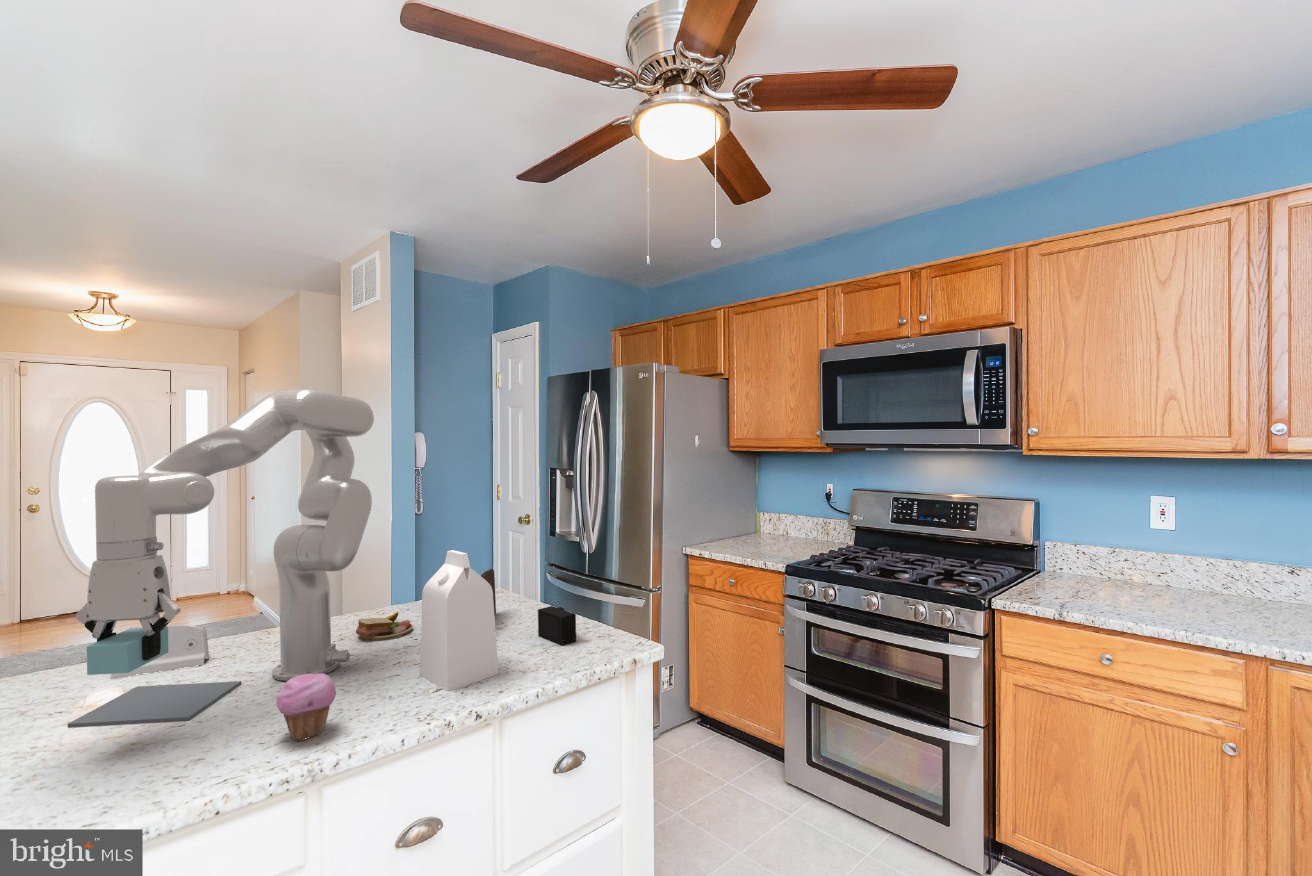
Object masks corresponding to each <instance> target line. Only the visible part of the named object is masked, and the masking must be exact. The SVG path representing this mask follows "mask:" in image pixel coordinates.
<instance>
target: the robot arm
mask: <svg viewBox="0 0 1312 876" xmlns="http://www.w3.org/2000/svg"><path fill="white" fill-rule="evenodd" d="M374 419H375V415H374V412H373V409H372V407H371V406H370V405H369V404H368V403H367V402H366V401H364V400H362V399H360V398H356V397H351V396H346V395H341V394H338V393H337V394H336V393H332V392H326V391H322V390H321V391H320V390H316V389H307V388H306V389H303V388H302V389H289V390H287V389H286V390H277V391H274V392H271V393H269V394H268V395H266V396H264V397H263V398H261V399H260V400H259V401H257V402H256V403H255V404H253V405H252V406H251V407H250V406H249V408H247V409H245V411H243V412H241V414H239V415H238V416H236V417H235V418H233V419H231V421H229V422H228V423H227V424H225V425H224V426H222V427H220V428H219V429H216V430H214V431H212V432H210V433H208V434H205V435H202V436H200V437H199V438H197V439H195V440H193V441H191V442H189V443H187V444H184V445H182V446H180V447H178V448H176V449H174V450H172V451H171V452H169V453H167V454H165V455H164V456H163V457H161V458H159V459H158V460H156V461H155V462H153V464H151V465H149V466H148V467H147V468H145V469H144V470H142V471H141V472H139V474H138V475H118V476H115V475H113V476H108V477H107V476H106V477H102V478H100V479H99V480H97V482H96V484H95V486H94V488H95V489H94V500H95V501H94V507H95V509H94V510H95V547H96V549H95V550H96V551H95V552H96V554H95V555H96V560H94V561H93V562H92V565H91V567H90V572H89V578H88V585H87V596H86V597H87V600H86V601H87V602H86V604H84V605H83V606H82V608H80V610H79V611H78V612H77V613H76V614H75V615H74V618H75V619H76V620H77V621H78V622H79V623H81V624H83V626H84V627H85V629H87V630H88V631H89V632H90V633H91V637H92V638H93V639H94V640H95V639H96V643H97V642H99V641H101V640H104V639H107V638H109V637H111V636H114V635H116V634H117V632H113V631H114V629H115V627H116V624H117V622H118V621H119V622H120V621H139V623H140V626H141V628H143V630H144V632H145V634H146V635H145V636H143V637H142V659H143V660H149V659H151V658H153V657H155V656H157V655H159V654H160V650H161V631H162V630H164V628H165V627H166V626H169V624H170V623H171V622H172V620H174V618H175V617H177V615H179V614H180V613H181V610H182V609H181V608H180V607H179V606H178V605H177V604H176V603H175V602H174V601H173V600H171V589H170V580H169V574H168V570H167V567H166V562H165V560H164V557H163V555H162V554H158V551H162V550H163V549H164V543H163V541H160V542H159V541H158V537H157V516H160V515H190V514H195V513H198V512H201V511H202V510H204V509H205V508H207V507H208V506H209V505H210V504H211V502H212V501H213V499H214V496H215V488H214V485H213V483H212V482H211V481H210V480H209V478H207V477H210V476H212V475H215V474H217V473H220V472H224V471H227V470H231V469H236V468H239V467H242V466H246V465H248V464H251V463H252V462H253V463H254V462H256V461H257V460H258V459H260V458H261V457H262V456H263V455H265V454H266V453H268V451H270V449H272V448H274V446H275V445H277V444H278V443H280V442H281V441H282V440H283V439H285V438H286V437H287V436H288V435H289V434H291V433H293V432H295V431H305V433H306V434H307V436H308V437H309V439H310V442H311V444H312V447H313V457H312V462H311V465H310V466H309V470H308V472H307V473H308V474H307V475H306V479H305V482H304V483H303V487H302V490H301V492H300V495H299V498H298V501H297V502H298V503H297V508H298V511H299V513H300V515H302V516H303V517H304V518H307V520H308V519H309V520H314V521H322V522H326V523H325V525H320V524H297V525H292V526H290V527H287V528H285V529H283V530H282V531H281V532H280V533H279V534H278V535H277V537H276V538H275V542H274V544H273V550H272V551H273V560H274V563H275V567H276V571H277V577H278V585H279V587H278V589H279V636H280V637H279V638H280V640H279V641H280V642H279V644H280V646H279V647H280V648H279V649H280V650H279V651H280V652H279V653H280V663H279V664H278V665H276V666H274V667H273V669H272V672H271V676H272V678H273V679H275V680H278V681H282V682H283V681H285V682H287V681H288V680H290V679H292V678H294V677H297V676H300V675H305V674H326V675H327V674H328V673H331V672H332V671H334V670H335V669H336V668H338V666H339V665H340V663H344V662H346V663H347V662H349V661H350V658H351V653H350V652H349V649H342V650H338V649H337V648H336V647H337V645H336V643H332V636H331V635H332V632H331V631H332V628H331V585H330V580H329V576H328V574H327V572H339V571H343V570H345V569H346V568H348V567H349V566H350V565H351V563H353V561H354V559H355V558H356V556H357V555H358V554H357V553H358V552H359V549H360V546H361V542H362V539H363V535H364V533H365V531H366V527H367V524H368V521H369V517H370V514H371V510H372V507H373V506H372V505H373V500H372V499H373V498H372V493H371V490H370V488H369V486H368V485H367V484H366V483H364V481H362V480H360V479H355V478H352V474H353V471H354V470H353V469H354V466H355V453H354V450H353V447H352V445H351V443H350V441H349V439H348V438H351V437H353V438H354V437H361V436H363V435H365V434H367V433H369V431H370V430H371V429H372V427H373V425H374V421H375V420H374ZM160 613H163V615H162V616H161V615H160Z"/></svg>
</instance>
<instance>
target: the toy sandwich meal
mask: <svg viewBox="0 0 1312 876" xmlns="http://www.w3.org/2000/svg"><path fill="white" fill-rule="evenodd" d="M398 616H399V612H398V611H397V612H394V613H393V614H390V615H389V616H386V617H372V618H371V617H370V618H359V619H358V621H357V623H358V625H357V628H356V629H355V634H356V635H358V636H360V637H362V638H363V639H364V640H368V641H384V640H385V641H386V640H392V639H397V638H400V637H403V636H406V635H407V634H409V633H410V631H412V630H413V628H414V627H413V626H414V625H413V624H412V623H411V621H410V620H409V619H405V620H401V621H396V620H397V618H398Z"/></svg>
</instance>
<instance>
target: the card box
mask: <svg viewBox="0 0 1312 876" xmlns="http://www.w3.org/2000/svg"><path fill="white" fill-rule="evenodd" d="M145 635H146V634H145V632H144V630H143V628H142V627H132V628H129V629H126V630H123V631H120V632H118V633H116V635H114V636H111V637H109V638H107V639H104V640H101V641H99V642H97V641H96V642H95V643H92V644H89V645H88V646H86V675H87V676H93V675H111V674H116V673H129V672H131V671H133V670H135V669H137V668H139V667H141V666H143V665H145V664H147V663H149V662H151V661H153V660H155V659H156V658H158V657H160V656H162V655H164V654H166V653H168V627H165V628H164V630H162V631H161V650H160V654H159V655H157V656H155V657H153V658H151V659H149V660H143V659H142V637H143V636H145Z"/></svg>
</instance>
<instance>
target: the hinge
mask: <svg viewBox="0 0 1312 876" xmlns="http://www.w3.org/2000/svg"><path fill="white" fill-rule="evenodd" d="M166 627H168V653H166V654H164V655H162V656H160V657H158V658H156V659H155V660H153V661H151V662H149V663H147V664H145V665H143V666H141V667H139V668H137V669H135V670H133V671H131V672H129V673H116V674H110V675H111V676H110V680H117V679H123V678H124V677H125V678H128V677H127V676H131V677H135V676H134V675H136V674H143V673H151V674H155V673H154V672H158V673H160V672H159V671H165V672H169V671H168V670H171V671H173V670H172V669H178V670H180V669H179V668H184V667H191V668H194V667H193V666H196V665H203V664H204V665H205V661H206V660H210V652H209V641H208V633H207V632H208V631H207V629H205V628H204V627H201V626H195V625H186V624H184V625H183V624H174V625H173V624H172V625H171V624H170V625H167V626H166ZM205 659H206V660H205Z"/></svg>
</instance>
